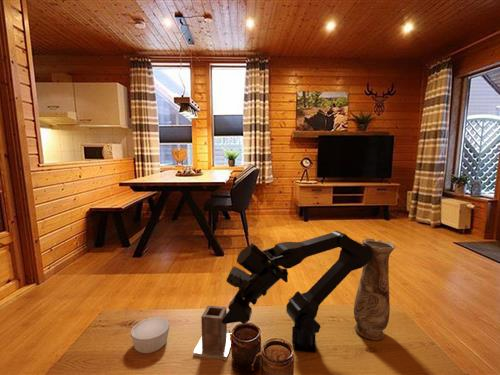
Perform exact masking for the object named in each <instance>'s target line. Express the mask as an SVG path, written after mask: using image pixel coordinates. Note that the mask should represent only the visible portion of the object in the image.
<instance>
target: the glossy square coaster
mask: <svg viewBox="0 0 500 375" xmlns="http://www.w3.org/2000/svg"><path fill="white" fill-rule="evenodd" d="M230 334H231V333H230V332H229V333H228V332H227V338H226V341H225V344H224V346H223V349H222V351H219V350H210V349H202V336H201V337H200V339H199V341H198V343H197V345H196V346H195V348H194V350H193V352H192V356H194V357H200V358H208V359H216V360H222V361H223V360H224V361H227V360H228V357H229V354H230V351H231V348H232V346H231V341H230Z"/></svg>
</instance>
